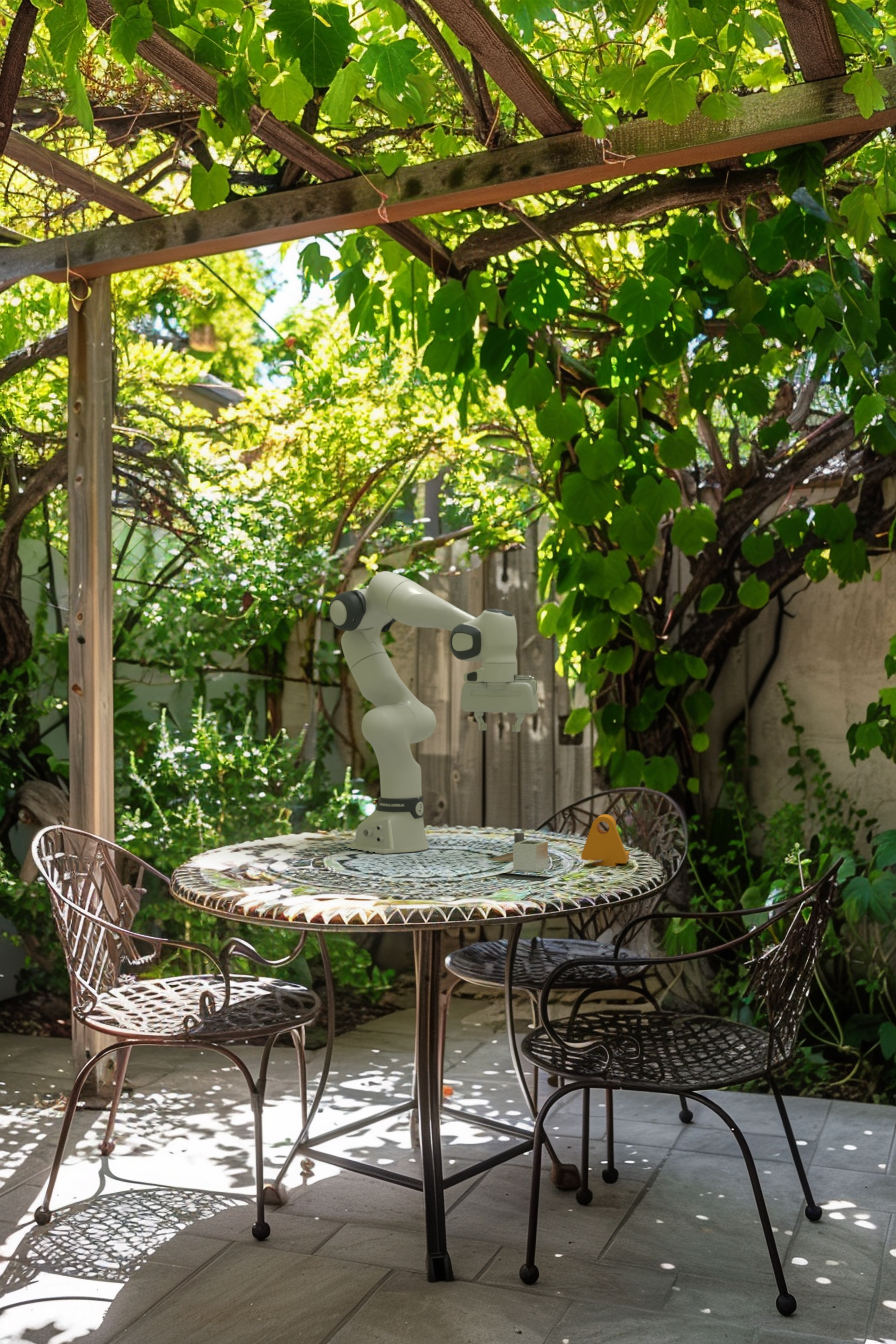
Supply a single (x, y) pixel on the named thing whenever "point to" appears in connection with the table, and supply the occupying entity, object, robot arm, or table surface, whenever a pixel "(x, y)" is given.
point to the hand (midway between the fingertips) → (499, 731)
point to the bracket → (604, 844)
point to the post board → (509, 856)
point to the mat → (523, 877)
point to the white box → (530, 856)
